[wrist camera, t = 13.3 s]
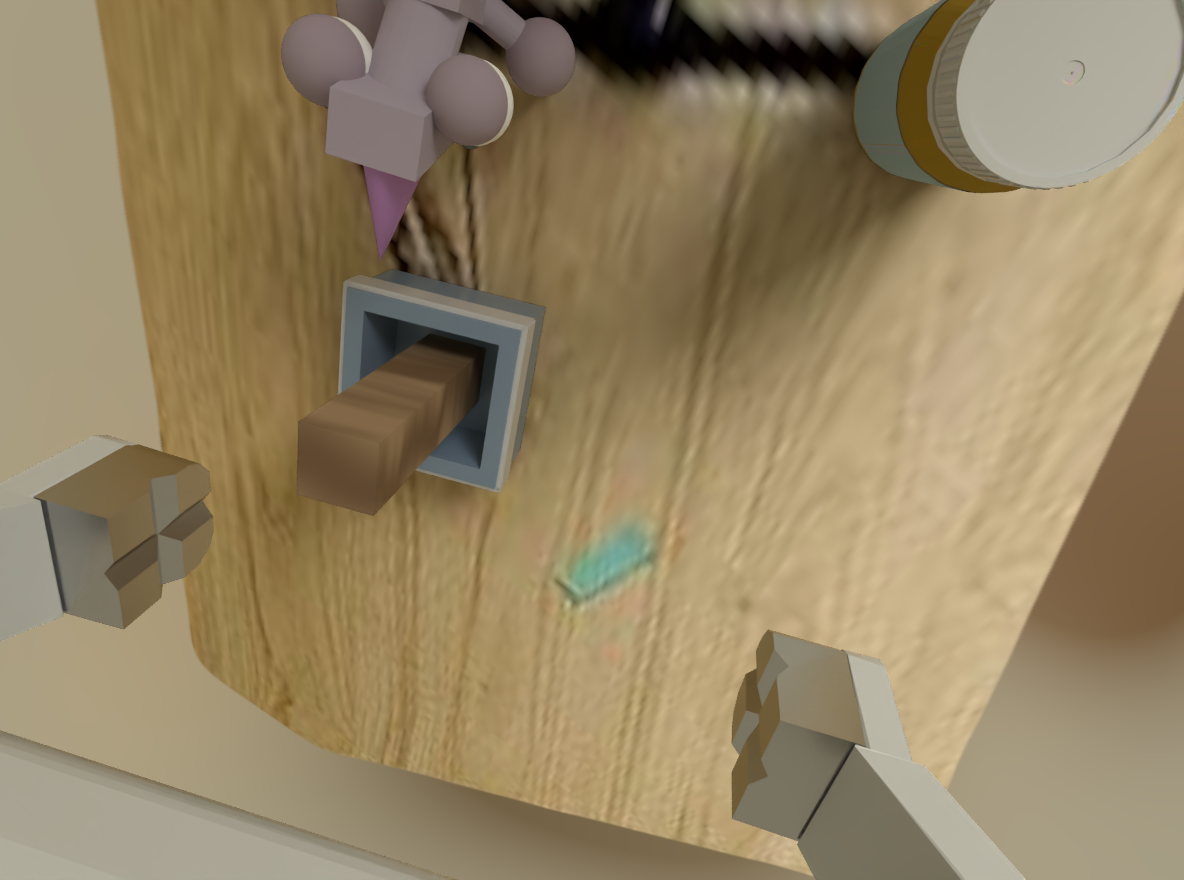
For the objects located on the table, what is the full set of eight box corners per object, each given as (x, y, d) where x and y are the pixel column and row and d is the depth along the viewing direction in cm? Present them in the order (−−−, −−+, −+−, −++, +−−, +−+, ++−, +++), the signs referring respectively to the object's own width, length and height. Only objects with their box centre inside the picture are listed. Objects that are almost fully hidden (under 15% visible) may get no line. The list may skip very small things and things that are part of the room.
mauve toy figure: (552, 256, 39) (473, 311, 26) (375, 198, 39) (216, 225, 27) (666, -190, 30) (629, -418, 18) (437, -259, 30) (245, -530, 18)
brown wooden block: (429, 333, 40) (298, 421, 28) (486, 347, 40) (379, 443, 28) (423, 387, 42) (296, 494, 29) (478, 401, 42) (373, 515, 29)
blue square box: (388, 262, 40) (341, 280, 35) (551, 303, 40) (527, 327, 35) (376, 415, 44) (333, 450, 40) (524, 454, 44) (499, 494, 39)
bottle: (898, 208, 35) (1012, 253, 21) (821, 89, 33) (891, 55, 20) (1036, 110, 32) (1269, 89, 18) (960, -24, 30) (1152, -153, 17)
